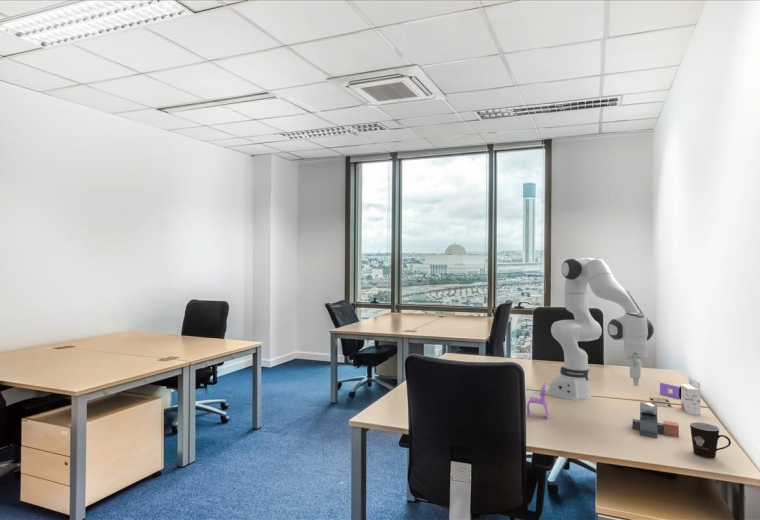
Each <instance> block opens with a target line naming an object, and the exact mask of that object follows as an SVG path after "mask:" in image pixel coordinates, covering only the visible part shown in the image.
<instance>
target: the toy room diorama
mask: <svg viewBox="0 0 760 520" xmlns="http://www.w3.org/2000/svg"><path fill="white" fill-rule="evenodd" d="M659 394H660V395H663V396H666V397H670V398H673V399H678V400H681V386H678V385H674V384H669V383H664V382H659Z"/></svg>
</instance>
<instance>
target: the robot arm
mask: <svg viewBox="0 0 760 520" xmlns="http://www.w3.org/2000/svg"><path fill="white" fill-rule="evenodd" d="M561 274H562V276H563V277H564V278H565V282H564V292H563V293H564V307H565V309H566V310H567V311H568V312H570V313H571V314H572V315H573V318H574V319H562V320H557V321H554V322H553V323H552V324H551V327H550V332H551V336H552V337H553V338H554V339H555V340H556V341H557V342H558V343H559V345H560V346H561V348H562V350H563V360H564V365H561V366H560V367H559V368H560V373H559V374H558V375H556V376H555V377H553V378H551V379H550V381H549V384H548V387H546V388H545V389H546V391H545V395H547V396H548V395H549V396H553V397H556V398H557V397H558V398H562V399H568V400H571V401H578V400H588V399H591V398H592V394H591V391H590V386H589V379H590V371H589V363H588V362H589V361H588V360H589V356H588V353H587V352H586V351H585V350H584V349H583V348H581V347H579V344H578V342H590V341H596V340H598V339H600V337H601V336H602V331H603V329H602V327H601V325H600V323H599V322H598V321H596V319H594V318H593V316H592V314H591V312H590V308H589V299H588V297H589V295H588V294H589V292H588V285H589V287H590V290H591V292H593V294H594V295H595V296H596V297H598V298H599V299H602V300H606V301H609V302H613V303H616V304H617V305H619V306H620V307H621V308H622V309H623V310H624V315H622V316H620V317H616V318H612V319H611V320H610V321H609V322H608V325H607V334H608V336H609V337H610V338H611V339H613V340H614V341H620V342H621V341H623V356H625V357H626V359H627V360H629V377H630V378H631V379H632V382H633V386H635V387H638V386H639V383H640V381H639V380H640V379H641V375H642V369H643V368H642V367H643V362H645V358H648V357H649V343H648V341H649V340H650V339H651V338H652V337H653V335H654V331H655V329H654V326H653V324H652V322H651V321H650V320H649V319H648V317H647V316H646V315H645V314H644V313H643V312H642V309H641V307H639V304H638V303H636V301H635V299H634V298H633V296H632V295H631V294H630V292H629V291H628V290H627V289H626V288H624V287H623V286H622V285H620V284H619V282H618V281H617V280H616V278H615V277H614V275H613V272H612V271H611V269H610V267H609V266H608V264H607V262H606V260H605V259H602V258H597V257H596V258H594V257H583V258H580V257H579V258H568V259H566V260H564V261H563V263H562V264H561Z"/></svg>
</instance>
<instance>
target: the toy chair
mask: <svg viewBox="0 0 760 520" xmlns="http://www.w3.org/2000/svg"><path fill="white" fill-rule="evenodd" d="M545 387H546V383H545V382H544V383H543V384H542V386H541V389H540V392H539V396H540V397H533V396H529V399H528V402H527V404H526V414H527V417H530V415H531V411H530V404H537V405H538V404H539V405H542V406H543V408H544V410H545V411H544V412H545V417H546V420H548V419H549V416H550V415H549V412H548V411H549V410H548V406H547V405H548V404H547V401H546V394H545V391H546V388H545Z"/></svg>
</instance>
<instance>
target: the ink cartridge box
mask: <svg viewBox="0 0 760 520" xmlns="http://www.w3.org/2000/svg"><path fill="white" fill-rule="evenodd" d="M700 384H701V383H700V382H699V381H697V380H696V379H694V378H691V384H683V383H681V384H680V387H681V399H680V402H681V403H680V404H681V405H680V406H681V409H682V410H683V411H685V413H687V414H688V415H697V416H698V415H701V385H700Z"/></svg>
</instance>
